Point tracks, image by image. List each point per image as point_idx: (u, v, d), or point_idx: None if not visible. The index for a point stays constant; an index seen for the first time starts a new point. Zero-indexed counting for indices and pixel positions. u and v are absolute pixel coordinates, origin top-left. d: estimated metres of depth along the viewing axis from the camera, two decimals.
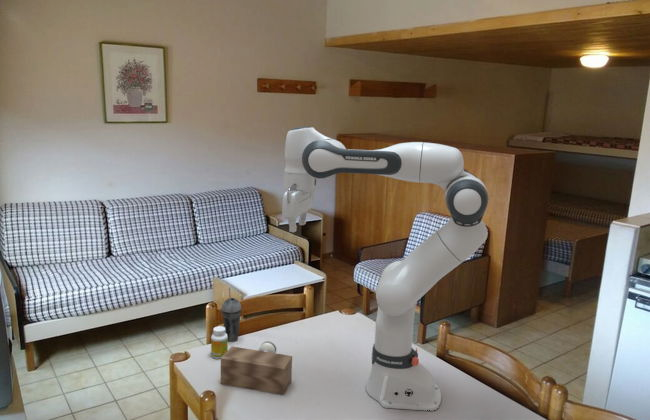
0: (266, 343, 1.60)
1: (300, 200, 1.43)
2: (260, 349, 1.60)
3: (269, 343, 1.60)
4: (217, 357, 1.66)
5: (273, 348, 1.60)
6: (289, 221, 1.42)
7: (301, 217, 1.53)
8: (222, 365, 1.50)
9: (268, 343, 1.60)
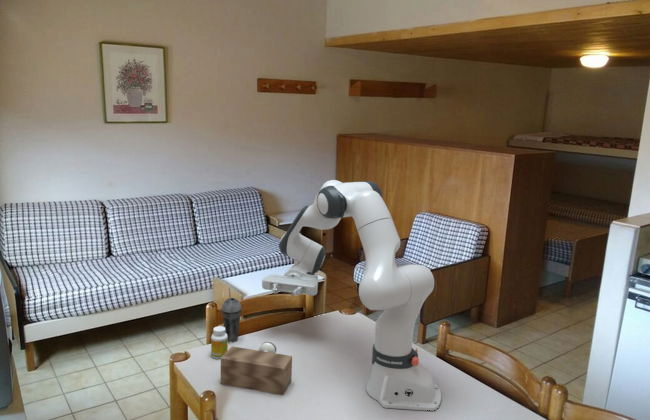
0: (266, 343, 1.60)
1: (283, 278, 1.82)
2: (260, 349, 1.60)
3: (269, 343, 1.60)
4: (217, 357, 1.66)
5: (273, 348, 1.60)
6: None
7: None
8: (222, 365, 1.50)
9: (268, 343, 1.60)
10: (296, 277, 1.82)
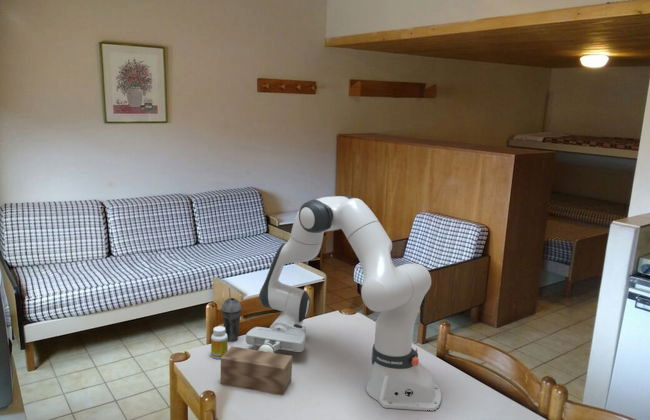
0: (264, 345, 1.59)
1: (268, 332, 1.70)
2: None
3: (267, 345, 1.59)
4: (217, 357, 1.66)
5: (271, 350, 1.58)
6: None
7: None
8: (222, 365, 1.50)
9: (266, 345, 1.59)
10: (282, 330, 1.70)
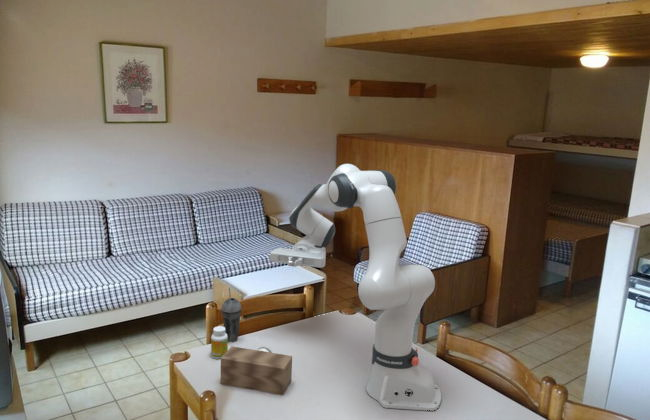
0: (262, 349, 1.56)
1: (291, 251, 1.81)
2: None
3: (265, 349, 1.56)
4: (217, 357, 1.66)
5: None
6: None
7: None
8: (222, 365, 1.50)
9: (264, 349, 1.56)
10: (304, 250, 1.81)
